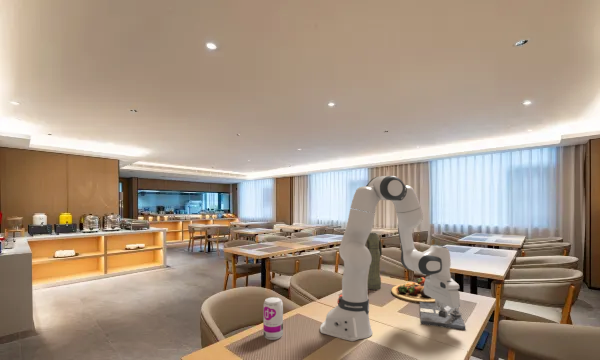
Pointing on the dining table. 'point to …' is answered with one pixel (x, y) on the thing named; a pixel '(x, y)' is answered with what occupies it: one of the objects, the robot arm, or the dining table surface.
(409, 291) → the wooden plate with food
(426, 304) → the board
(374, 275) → the dark olive tall piece
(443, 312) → the swing bar
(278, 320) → the supplement can
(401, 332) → the dining table surface
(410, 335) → the dining table surface
